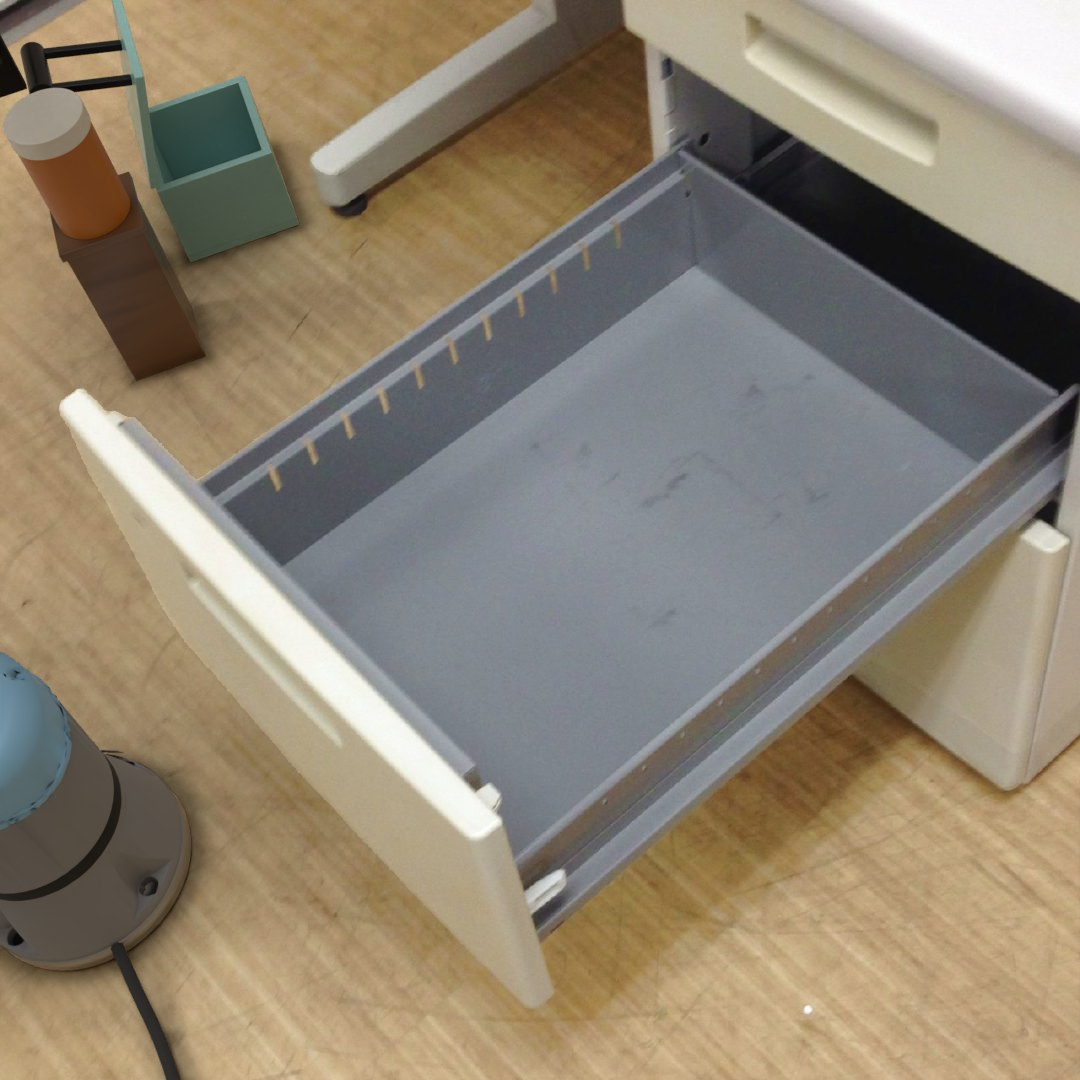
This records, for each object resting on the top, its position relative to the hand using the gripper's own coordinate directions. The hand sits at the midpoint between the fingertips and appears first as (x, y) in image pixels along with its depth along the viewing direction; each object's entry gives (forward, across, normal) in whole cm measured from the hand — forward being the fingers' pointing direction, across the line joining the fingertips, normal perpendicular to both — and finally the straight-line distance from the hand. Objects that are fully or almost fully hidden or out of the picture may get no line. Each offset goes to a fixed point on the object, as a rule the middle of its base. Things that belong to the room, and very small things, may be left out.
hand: (0, 42), depth 123 cm
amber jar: (+8, -14, -3) cm, 16 cm away
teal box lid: (+9, 0, -9) cm, 12 cm away
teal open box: (+24, 0, -12) cm, 26 cm away
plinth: (+24, -14, -3) cm, 28 cm away
